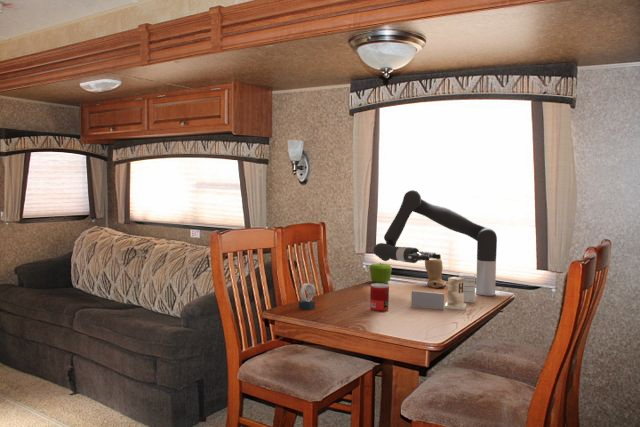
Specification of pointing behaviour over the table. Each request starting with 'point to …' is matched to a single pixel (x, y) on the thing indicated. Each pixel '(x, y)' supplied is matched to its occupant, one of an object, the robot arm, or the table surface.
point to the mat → (455, 306)
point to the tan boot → (434, 273)
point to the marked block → (455, 291)
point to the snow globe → (307, 303)
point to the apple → (380, 273)
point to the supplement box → (468, 286)
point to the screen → (427, 300)
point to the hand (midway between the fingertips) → (434, 257)
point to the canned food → (379, 297)
